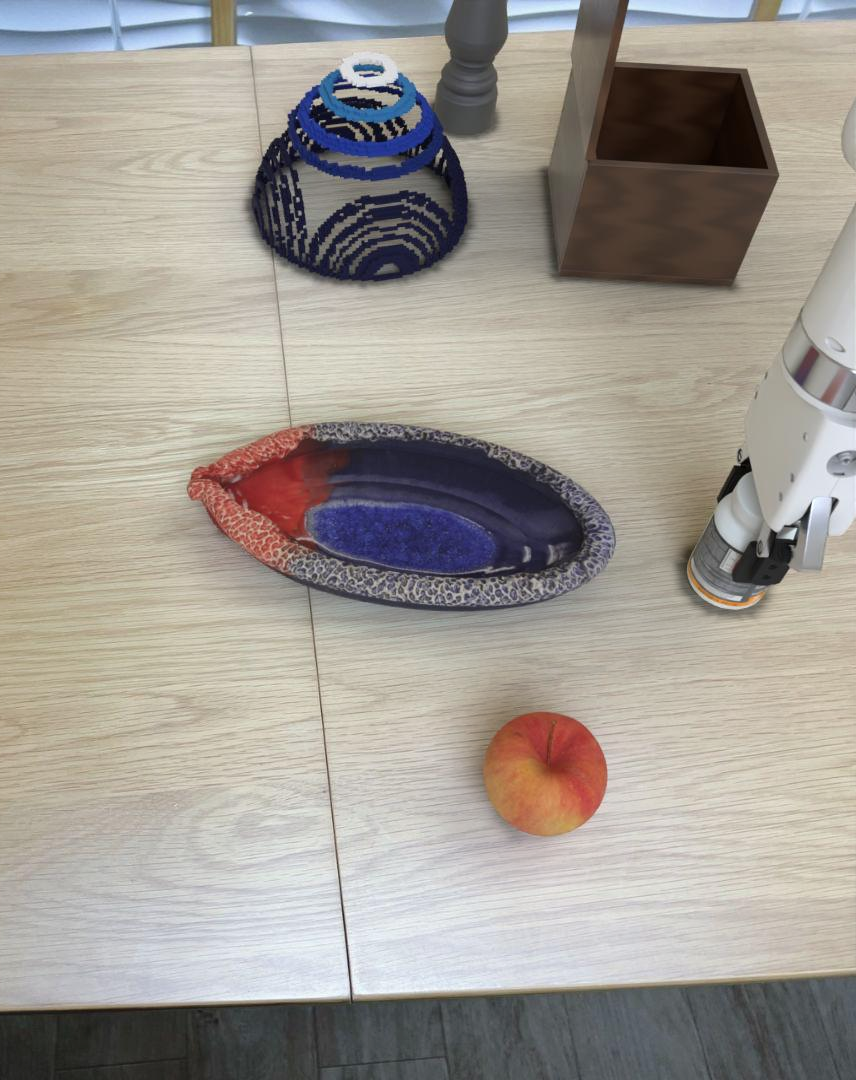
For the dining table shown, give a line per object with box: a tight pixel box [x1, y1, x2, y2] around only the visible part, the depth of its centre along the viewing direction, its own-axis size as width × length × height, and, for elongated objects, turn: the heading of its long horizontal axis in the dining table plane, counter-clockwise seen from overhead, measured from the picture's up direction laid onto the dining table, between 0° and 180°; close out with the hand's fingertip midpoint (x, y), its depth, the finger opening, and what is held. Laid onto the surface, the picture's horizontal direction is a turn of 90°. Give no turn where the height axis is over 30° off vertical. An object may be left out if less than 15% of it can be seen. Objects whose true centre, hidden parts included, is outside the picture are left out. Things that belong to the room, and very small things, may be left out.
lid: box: [570, 0, 630, 160], centre depth 87 cm, size 16×16×1 cm
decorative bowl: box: [251, 51, 469, 283], centre depth 98 cm, size 20×20×14 cm
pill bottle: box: [686, 472, 797, 610], centre depth 76 cm, size 6×6×10 cm
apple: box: [482, 711, 609, 837], centre depth 66 cm, size 7×7×8 cm
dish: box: [186, 421, 617, 612], centre depth 79 cm, size 16×31×5 cm, turn 79°
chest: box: [547, 60, 780, 287], centre depth 98 cm, size 16×16×12 cm
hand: (746, 540), depth 76 cm, fingers closed on pill bottle, 5 cm apart
